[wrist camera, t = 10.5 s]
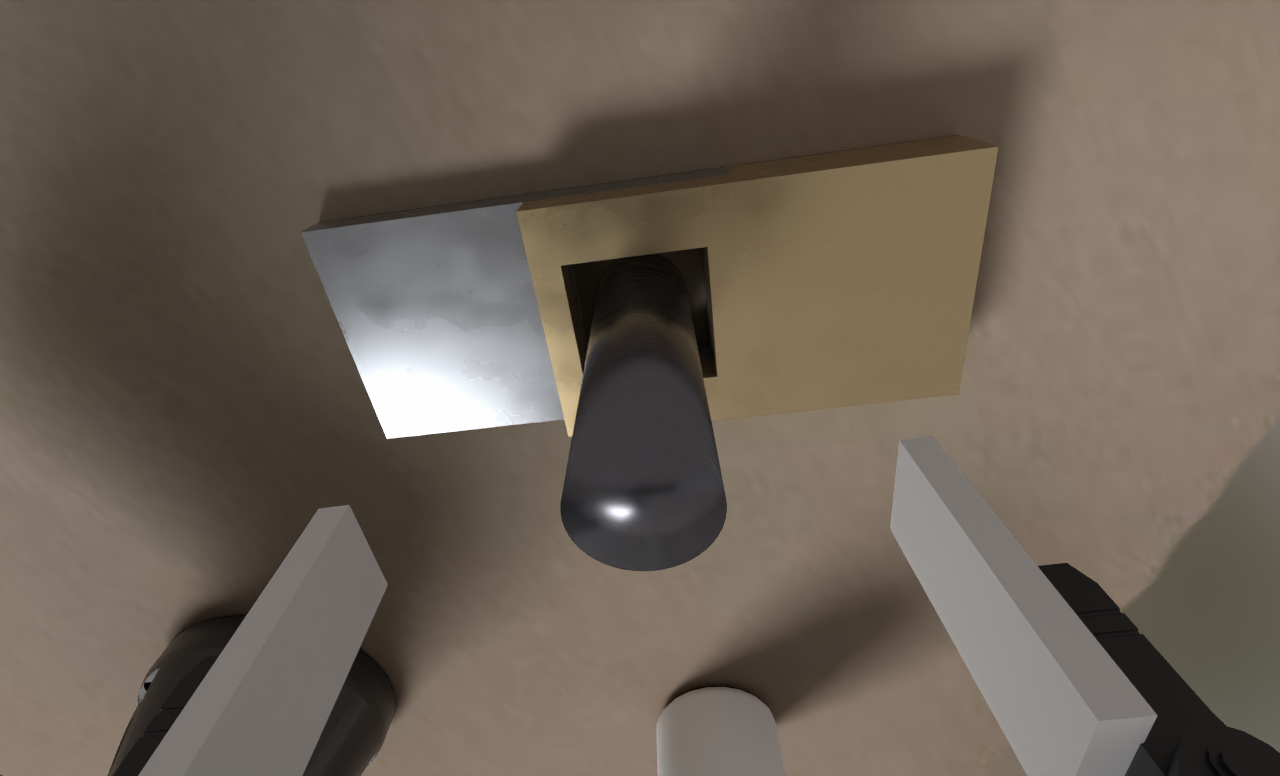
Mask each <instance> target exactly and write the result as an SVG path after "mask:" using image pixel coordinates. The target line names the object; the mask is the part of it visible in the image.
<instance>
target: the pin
mask: <svg viewBox="0 0 1280 776" xmlns="http://www.w3.org/2000/svg"><path fill="white" fill-rule="evenodd" d="M726 513H727V503H726V497H725V491H724V486H723V480H722V475H721V470H720V465H719V459H718V454H717V449H716V443H715V438H714V433H713V427H712V422H711V417H710V411H709V406H708V401H707V395H706V390H705V385H704V379H703V374H702V369H701V363H700V358H699V353H698V347H697V342H696V337H695V331H694V326H693V321H692V315H691V310H690V305H689V299H688V294H687V289H686V285H685V281H684V279H683V277H682V275H681V274H680V272H679V271H678V270H677V269H676V267H675V266H673V265H672V264H671V263H670V262H668V261H667V260H665V259H663V258H661V257H658V256H655V255H651V254H648V255H640V256H632V257H625V258H622V259H619V260H618V261H616V262H615V263H614V264H612V265H611V266H610V267H609V268H608V269H607V270H606V272H605V273H604V275H603V276H602V278H601V280H600V283H599V286H598V292H597V298H596V304H595V309H594V315H593V321H592V327H591V332H590V338H589V344H588V350H587V355H586V361H585V367H584V372H583V378H582V384H581V390H580V395H579V401H578V407H577V413H576V418H575V424H574V430H573V436H572V441H571V447H570V453H569V459H568V464H567V470H566V476H565V482H564V487H563V493H562V499H561V517H562V522H563V524H564V527H565V529H566V531H567V533H568V535H569V537H570V538H571V539H572V541H573V542H574V543H575V544H576V545H577V546H578V547H579V548H580V549H581V550H582V551H583V552H585V553H586V554H587V555H589V556H590V557H592V558H594V559H595V560H597V561H600V562H602V563H604V564H607V565H609V566H612V567H616V568H620V569H625V570H632V571H655V570H662V569H667V568H671V567H675V566H678V565H680V564H683V563H685V562H687V561H690V560H692V559H693V558H695V557H697V556H698V555H700V554H701V553H702V552H704V551H705V550H706V549H707V548H708V547H709V546H710V545H711V544H712V543H713V542H714V541H715V539H716V538H717V537H718V535H719V533H720V532H721V530H722V528H723V525H724V522H725V518H726Z"/></svg>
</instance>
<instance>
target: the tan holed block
mask: <svg viewBox="0 0 1280 776" xmlns="http://www.w3.org/2000/svg"><path fill="white" fill-rule="evenodd" d="M997 154H998V146H995V145H991V144H988V143H984V142H981V141H977V140H974V139H970V138H966V137H963V136H959V135H956V136H948V137H941V138H934V139H926V140H919V141H912V142H905V143H897V144H890V145H883V146H875V147H868V148H861V149H853V150H846V151H839V152H831V153H824V154H817V155H809V156H802V157H795V158H788V159H780V160H773V161H766V162H758V163H751V164H744V165H736V166H729V167H722V168H714V169H707V170H700V171H692V172H685V173H678V174H671V175H663V176H656V177H649V178H641V179H634V180H627V181H619V182H612V183H605V184H597V185H590V186H583V187H575V188H568V189H561V190H554V191H546V192H539V193H532V194H524V195H517V196H510V197H502V198H495V199H488V200H480V201H473V202H466V203H458V204H451V205H444V206H437V207H429V208H422V209H415V210H407V211H400V212H393V213H385V214H378V215H371V216H363V217H356V218H349V219H341V220H334V221H327V222H320V223H317V224H315V225H313V226H311V227H310V228H308V229H306V230H304V231H302V232H300V233H301V235H302V237H303V240H304V242H305V244H306V247H307V249H308V252H309V254H310V256H311V259H312V261H313V264H314V266H315V268H316V271H317V273H318V275H319V278H320V280H321V283H322V285H323V287H324V290H325V292H326V295H327V297H328V299H329V302H330V304H331V306H332V309H333V311H334V314H335V316H336V318H337V321H338V323H339V326H340V328H341V330H342V333H343V335H344V337H345V340H346V342H347V345H348V347H349V349H350V352H351V354H352V357H353V359H354V361H355V364H356V366H357V368H358V371H359V373H360V376H361V378H362V380H363V383H364V385H365V388H366V390H367V392H368V395H369V397H370V399H371V402H372V404H373V407H374V409H375V411H376V414H377V416H378V419H379V421H380V423H381V426H382V428H383V430H384V433H385V435H386V438H387V439H390V438H399V437H408V436H417V435H426V434H435V433H444V432H453V431H462V430H471V429H480V428H489V427H498V426H507V425H516V424H525V423H535V422H544V421H553V420H562V419H565V424H566V428H567V432H568V437H570V436H573V430H574V424H575V418H576V413H577V407H578V401H579V395H580V390H581V384H582V378H583V372H584V367H585V361H586V355H587V350H588V339H587V334H586V329H585V324H584V319H583V314H582V308H581V303H580V298H579V293H578V288H577V283H576V278H575V272H574V267H573V264H578V263H586V262H593V261H601V260H609V259H617V258H625V257H632V256H640V255H648V254H656V253H664V252H671V251H679V250H687V249H695V248H702V250H703V263H704V275H705V288H706V300H707V313H708V325H709V338H710V346H701V347H698V353H699V358H700V363H701V369H702V374H703V379H704V385H705V390H706V395H707V401H708V406H709V411H710V417H711V421H717V420H726V419H735V418H745V417H754V416H763V415H772V414H781V413H791V412H800V411H809V410H818V409H827V408H837V407H846V406H855V405H864V404H873V403H883V402H892V401H901V400H910V399H919V398H929V397H938V396H947V395H956V394H959V390H960V384H961V378H962V372H963V365H964V359H965V353H966V347H967V341H968V334H969V328H970V322H971V316H972V309H973V303H974V297H975V291H976V284H977V278H978V272H979V266H980V260H981V253H982V247H983V241H984V235H985V228H986V222H987V216H988V210H989V203H990V197H991V191H992V185H993V179H994V172H995V166H996V160H997Z"/></svg>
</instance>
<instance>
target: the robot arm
mask: <svg viewBox="0 0 1280 776" xmlns="http://www.w3.org/2000/svg"><path fill="white" fill-rule="evenodd" d="M890 530H891V531H892V533H893V535H894V537H895V539H896V540H897V542H898V544H899V546H900V548H901V549H902V551H903V553H904V555H905V556H906V558H907V560H908V562H909V564H910V565H911V567H912V569H913V571H914V573H915V574H916V576H917V578H918V580H919V582H920V583H921V585H922V587H923V589H924V591H925V592H926V594H927V596H928V598H929V600H930V601H931V603H932V605H933V607H934V609H935V610H936V612H937V614H938V616H939V618H940V619H941V621H942V623H943V625H944V627H945V628H946V630H947V632H948V634H949V636H950V637H951V639H952V641H953V643H954V644H955V646H956V648H957V650H958V652H959V653H960V655H961V657H962V659H963V661H964V662H965V664H966V666H967V668H968V670H969V671H970V673H971V675H972V677H973V679H974V680H975V682H976V684H977V686H978V688H979V689H980V691H981V693H982V695H983V697H984V698H985V700H986V702H987V704H988V706H989V707H990V709H991V711H992V713H993V715H994V716H995V718H996V720H997V722H998V723H999V725H1000V727H1001V729H1002V731H1003V732H1004V734H1005V736H1006V738H1007V740H1008V741H1009V743H1010V745H1011V747H1012V749H1013V750H1014V752H1015V754H1016V756H1017V758H1018V759H1019V761H1020V763H1021V765H1022V766H1023V768H1024V770H1025V772H1026V774H1027V776H1280V753H1279V752H1278V751H1276V750H1275V749H1274V748H1273V747H1271V746H1270V745H1268V744H1266V743H1265V742H1263V741H1261V740H1259V739H1257V738H1255V737H1253V736H1251V735H1250V734H1247V733H1246V732H1243V731H1241V730H1237V729H1234V728H1230V727H1227V726H1226V725H1225V724H1224V723H1223V722H1222V721H1221V720H1220V719H1219V718H1218V717H1217V716H1216V715H1215V714H1213V713H1212V711H1211V710H1210V709H1209V708H1208V707H1207V706H1206V705H1205V704H1204V703H1203V701H1202V700H1201V699H1200V698H1199V697H1198V696H1197V695H1196V694H1195V692H1194V691H1193V690H1192V689H1191V688H1190V687H1189V686H1188V684H1187V683H1186V682H1185V681H1184V680H1183V679H1182V678H1181V677H1180V676H1179V674H1178V673H1177V672H1176V671H1175V670H1174V669H1173V668H1172V667H1171V665H1170V664H1169V663H1168V662H1167V661H1166V660H1165V659H1164V658H1163V656H1162V655H1161V654H1160V653H1159V652H1158V651H1157V650H1156V649H1155V647H1154V646H1153V645H1152V644H1151V643H1150V642H1149V641H1148V640H1147V638H1146V637H1145V636H1144V635H1143V634H1139V632H1138V628H1137V627H1136V626H1135V625H1134V624H1133V623H1132V622H1131V621H1130V619H1129V618H1128V617H1127V616H1126V615H1125V614H1124V613H1121V612H1120V610H1119V609H1120V608H1119V607H1118V606H1117V605H1116V604H1115V603H1114V601H1113V600H1112V599H1111V598H1110V597H1109V596H1108V595H1107V594H1106V592H1105V591H1104V590H1103V589H1102V588H1101V587H1100V586H1099V585H1098V583H1096V582H1095V581H1093V580H1092V579H1090V578H1089V577H1087V576H1086V575H1084V574H1083V573H1081V572H1080V571H1078V570H1077V569H1075V568H1074V567H1072V566H1071V565H1069V564H1068V563H1061V564H1052V565H1043V566H1037V565H1036V564H1035V562H1034V561H1033V560H1032V559H1031V557H1030V556H1029V555H1028V554H1027V552H1026V551H1025V550H1024V549H1023V547H1022V546H1021V545H1020V544H1019V543H1018V541H1017V540H1016V539H1015V538H1014V536H1013V535H1012V534H1011V533H1010V531H1009V530H1008V529H1007V528H1006V526H1005V525H1004V524H1003V523H1002V521H1001V520H1000V519H999V518H998V516H997V515H996V514H995V513H994V511H993V510H992V509H991V508H990V506H989V505H988V504H987V503H986V501H985V500H984V499H983V498H982V497H981V495H980V494H979V493H978V492H977V490H976V489H975V488H974V487H973V485H972V484H971V483H970V482H969V480H968V479H967V478H966V477H965V475H964V474H963V473H962V472H961V470H960V469H959V468H958V467H957V465H956V464H955V463H954V462H953V460H952V459H951V458H950V457H949V455H948V454H947V453H946V452H945V451H944V449H943V448H942V447H941V446H940V444H939V443H938V442H937V441H936V439H935V438H934V437H933V436H928V437H919V438H911V439H902V440H899V446H898V456H897V466H896V476H895V486H894V495H893V505H892V515H891V525H890ZM387 586H388V584H387V582H386V580H385V578H384V576H383V574H382V571H381V569H380V567H379V565H378V563H377V561H376V559H375V557H374V555H373V553H372V551H371V549H370V547H369V545H368V542H367V540H366V538H365V536H364V534H363V532H362V530H361V528H360V526H359V524H358V522H357V520H356V518H355V516H354V513H353V511H352V509H351V507H350V505H345V506H336V507H328V508H319V509H318V510H317V512H316V513H315V515H314V516H313V518H312V519H311V521H310V522H309V524H308V525H307V527H306V528H305V530H304V531H303V533H302V534H301V536H300V537H299V538H298V540H297V541H296V543H295V544H294V546H293V547H292V549H291V550H290V552H289V553H288V555H287V556H286V558H285V559H284V561H283V562H282V564H281V565H280V567H279V568H278V570H277V571H276V573H275V574H274V575H273V577H272V578H271V580H270V581H269V583H268V584H267V586H266V587H265V589H264V590H263V592H262V593H261V595H260V596H259V598H258V599H257V601H256V602H255V604H254V605H253V607H252V608H251V610H250V611H249V612H248V614H247V615H246V616H233V617H223V618H217V619H212V620H208V621H205V622H202V623H199V624H196V625H194V626H192V627H190V628H188V629H186V630H184V631H183V632H181V633H180V634H179V635H178V636H176V637H175V638H174V639H173V640H172V642H171V643H170V644H169V646H168V647H167V648H166V649H165V651H164V652H163V653H162V654H161V656H160V657H159V658H158V660H157V661H156V662H155V663H154V665H153V666H152V667H151V669H150V670H149V672H148V673H147V675H146V677H145V679H144V680H143V683H142V686H141V688H140V691H139V696H138V707H137V708H136V710H135V712H134V714H133V716H132V718H131V720H130V722H129V724H128V726H127V728H126V731H125V733H124V735H123V738H122V740H121V742H120V745H119V747H118V750H117V753H116V755H115V758H114V760H113V763H112V766H111V768H110V771H109V773H108V776H361V774H362V773H363V771H364V770H365V768H366V767H367V766H368V765H369V764H370V763H371V762H372V761H373V759H374V758H375V757H376V756H377V754H378V752H379V751H380V749H381V747H382V745H383V742H384V740H385V737H386V735H387V732H388V729H389V726H390V724H391V721H392V718H393V716H394V712H395V695H394V692H393V689H392V686H391V684H390V682H389V681H388V679H387V677H386V676H385V674H384V673H383V672H382V671H381V669H380V668H379V667H378V666H377V665H376V664H375V663H374V662H373V661H372V660H371V659H370V658H368V657H367V656H366V655H365V654H363V653H362V652H361V651H359V648H360V646H361V644H362V642H363V640H364V637H365V635H366V633H367V631H368V628H369V626H370V624H371V622H372V619H373V617H374V615H375V613H376V611H377V608H378V606H379V604H380V602H381V599H382V597H383V595H384V593H385V590H386V588H387ZM0 776H2V775H0Z"/></svg>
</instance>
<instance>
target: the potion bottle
mask: <svg viewBox="0 0 1280 776" xmlns="http://www.w3.org/2000/svg"><path fill="white" fill-rule="evenodd" d="M657 769H658V776H786V773H785V768H784V763H783V758H782V753H781V747H780V742H779V737H778V732H777V727H776V722H775V720H774V718H773V716H772V713H771V711H770V709H769V708H768V707H767V706H766V705H765V704H764V703H763V702H762V701H760V700H759V699H758V698H757V697H755V696H754V695H751V694H749V693H747V692H744V691H742V690H740V689H734V688H728V687H706V688H701V689H697V690H693V691H689V692H687V693H685V694H683V695H681V696H679V697H677V698H676V699H675V700H673V701H672V702H671V703H670V704H669V705H668V706H667V707H666V708H664V710H663V711H662V713H661V715H660V718H659V720H658V722H657Z"/></svg>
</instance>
